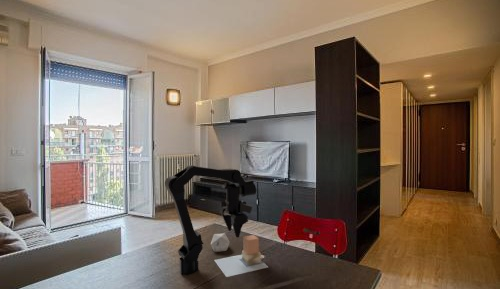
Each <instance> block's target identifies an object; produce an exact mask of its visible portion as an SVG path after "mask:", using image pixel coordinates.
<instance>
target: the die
mask: <svg viewBox="0 0 500 289" xmlns="http://www.w3.org/2000/svg"><path fill="white" fill-rule="evenodd" d="M230 242H231V241H230V240H229V238H228V236H227V234H226V233H225V232H222V233H214V234H213V236H212V238H211V242H210V246H211V248H212V250H213V252H215V253H218V252H219V253H220V252H221V253H222V252H225V251H227V250H228V248H229V245H230Z"/></svg>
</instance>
